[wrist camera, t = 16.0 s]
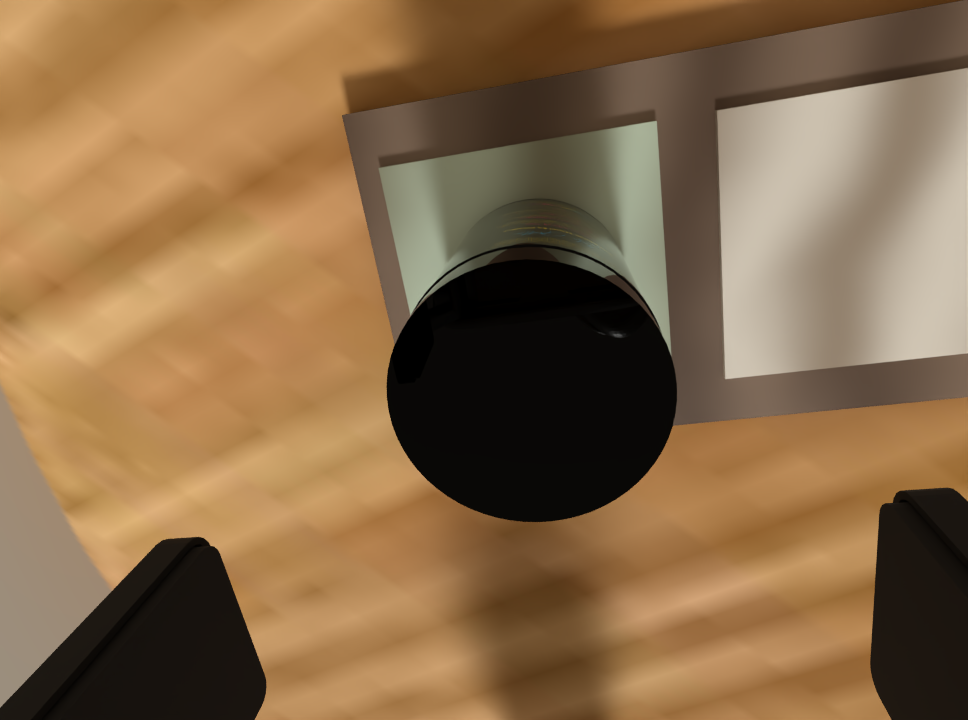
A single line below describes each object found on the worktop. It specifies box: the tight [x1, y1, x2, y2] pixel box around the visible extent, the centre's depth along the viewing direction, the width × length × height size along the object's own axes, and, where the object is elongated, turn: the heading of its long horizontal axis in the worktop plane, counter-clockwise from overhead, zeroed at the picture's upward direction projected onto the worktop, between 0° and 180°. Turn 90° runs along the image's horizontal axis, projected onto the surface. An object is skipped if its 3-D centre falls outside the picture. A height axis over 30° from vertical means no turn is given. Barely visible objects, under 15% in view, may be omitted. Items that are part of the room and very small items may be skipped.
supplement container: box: [387, 198, 677, 522], centre depth 19 cm, size 7×7×10 cm
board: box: [342, 0, 968, 426], centre depth 24 cm, size 24×14×1 cm, turn 100°
